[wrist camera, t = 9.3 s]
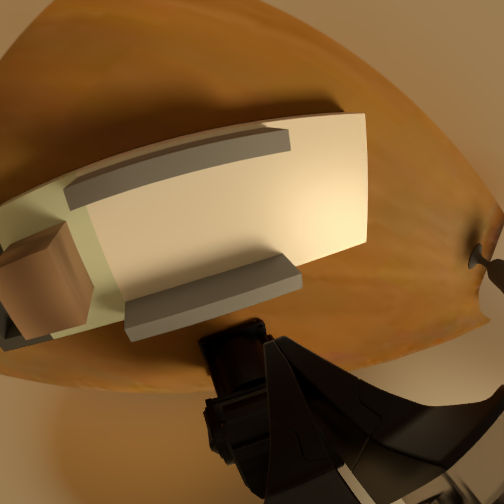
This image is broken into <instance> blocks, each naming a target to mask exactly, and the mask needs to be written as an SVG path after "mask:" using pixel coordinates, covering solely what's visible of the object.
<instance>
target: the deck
mask: <svg viewBox="0 0 504 504" xmlns="http://www.w3.org/2000/svg"><path fill="white" fill-rule="evenodd" d="M264 127H273V128H281V129H289V138H290V146H291V151H287V152H281V153H276V154H270V155H265V156H260V157H255V158H250V159H246V160H241V161H236V162H232V163H228V164H223V165H219V166H215V167H211V168H207V169H203V170H199V171H195V172H191V173H187V174H183V175H180V176H176V177H172V178H169V179H165V180H162V181H158V182H155V183H151V184H148V185H145V186H142V187H138V188H135V189H132V190H129V191H126V192H123V193H120V194H117V195H114V196H111V197H108V198H105V199H102V200H99V201H96V202H94V203H91V204H88V205H85V206H83V207H80V208H77V209H75V210H72V211H70V209H69V207H68V204H67V201H66V198H65V195H64V192H63V189H64V188H65V187H66V186H67V185H69V184H70V183H71V182H72V181H73V180H75V179H76V178H77V177H80V176H82V175H85V174H87V173H90V172H93V171H96V170H98V169H101V168H104V167H107V166H110V165H113V164H116V163H119V162H122V161H125V160H128V159H131V158H134V157H138V156H141V155H144V154H148V153H151V152H155V151H158V150H162V149H165V148H169V147H173V146H177V145H181V144H185V143H189V142H193V141H197V140H201V139H206V138H210V137H215V136H220V135H225V134H230V133H235V132H240V131H246V130H251V129H257V128H264ZM367 205H368V169H367V140H366V123H365V113H354V112H334V113H320V114H309V115H299V116H290V117H282V118H274V119H267V120H260V121H254V122H248V123H242V124H236V125H231V126H226V127H220V128H215V129H211V130H206V131H201V132H197V133H193V134H188V135H184V136H180V137H176V138H172V139H168V140H165V141H161V142H157V143H154V144H150V145H147V146H143V147H140V148H137V149H133V150H130V151H127V152H124V153H121V154H118V155H115V156H112V157H109V158H106V159H103V160H100V161H97V162H95V163H92V164H89V165H87V166H84V167H81V168H79V169H76V170H74V171H71V172H69V173H66V174H64V175H61V176H59V177H57V178H54V179H52V180H50V181H47V182H45V183H43V184H41V185H39V186H36V187H34V188H32V189H30V190H28V191H26V192H24V193H22V194H20V195H18V196H16V197H14V198H12V199H10V200H8V201H6V202H4V203H3V204H1V205H0V244H1V246H2V249H3V251H5V250H6V249H7V247H8V246H9V245H10V244H12V243H14V242H17V241H19V240H21V239H23V238H26V237H28V236H30V235H33V234H35V233H37V232H40V231H42V230H45V229H47V228H50V227H52V226H55V225H57V224H60V223H62V222H65V221H66V222H67V225H68V227H69V230H70V233H71V235H72V238H73V240H74V243H75V245H76V247H77V250H78V252H79V255H80V257H81V259H82V261H83V264H84V266H85V268H86V270H87V272H88V275H89V277H90V279H91V281H92V283H93V285H94V290H93V294H92V299H91V303H90V308H89V312H88V317H87V322H86V324H84V325H81V326H77V327H73V328H70V329H66V330H62V331H59V332H55V333H51V336H52V337H53V339H56V338H60V337H64V336H68V335H72V334H75V333H79V332H83V331H86V330H90V329H94V328H97V327H101V326H104V325H108V324H112V323H115V322H119V321H122V320H124V316H125V302H126V301H129V300H133V299H136V298H139V297H143V296H146V295H149V294H153V293H156V292H159V291H163V290H166V289H169V288H173V287H176V286H179V285H183V284H186V283H189V282H192V281H196V280H199V279H202V278H205V277H209V276H212V275H215V274H218V273H222V272H225V271H228V270H231V269H235V268H238V267H241V266H244V265H247V264H251V263H254V262H257V261H260V260H263V259H267V258H270V257H273V256H276V255H279V254H284V255H285V256H286V257H287V258H288V259H289V260H290V261H291V263H292V264H293V265H294V266H298V265H301V264H304V263H307V262H310V261H313V260H316V259H319V258H322V257H325V256H328V255H330V254H333V253H336V252H339V251H342V250H345V249H348V248H350V247H353V246H356V245H359V244H362V243H364V242H366V235H367Z"/></svg>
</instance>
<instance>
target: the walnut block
mask: <svg viewBox="0 0 504 504" xmlns="http://www.w3.org/2000/svg"><path fill="white" fill-rule="evenodd" d="M93 290H94V285H93V283H92V281H91V279H90V277H89V275H88V272H87V270H86V268H85V266H84V264H83V261H82V259H81V257H80V255H79V252H78V250H77V247H76V245H75V243H74V240H73V238H72V235H71V233H70V230H69V227H68V225H67V222H66V221H65V222H62V223H60V224H57V225H55V226H52V227H50V228H47V229H45V230H42V231H40V232H37V233H35V234H33V235H30V236H28V237H26V238H23V239H21V240H19V241H17V242H14V243H12V244H10V245H9V246H8V247H7V249H6V250H5V251H4V252H3V253H2V254H1V256H0V301H1V303H2V304H3V306H4V308H5V309H6V311H7V312H8V314H9V316H10V317H11V319H12V320H13V322H14V323H15V325H16V326H17V328H18V329H19V331H20V332H21V334H22V335H23V337H24V338H25V339H26V340H28V339H32V338H36V337H40V336H44V335H47V334H51V333H55V332H59V331H62V330H66V329H70V328H73V327H77V326H81V325H84V324H86V322H87V317H88V312H89V308H90V303H91V299H92V294H93Z"/></svg>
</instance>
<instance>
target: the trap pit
mask: <svg viewBox="0 0 504 504" xmlns="http://www.w3.org/2000/svg"><path fill="white" fill-rule="evenodd" d="M2 204H3V203H2ZM0 205H1V204H0ZM3 252H4V251H3V249H2V246H1V244H0V256H1V254H2V253H3ZM49 340H53V337H52V336H51V334H47V335H44V336H40V337H36V338H32V339H28V340H26V339H25V338H24V337H23V335H22V334H21V332H20V331H19V329H18V328H17V326H16V325H15V323H14V322H13V320H12V319H11V317H10V316H9V314H8V312H7V311H6V309H5V308H4V306H3V304H2V303H1V301H0V347H1V348H2V349H3V351H4V352H5V351H9V350H13V349H17V348H21V347H25V346H29V345H33V344H37V343H41V342H45V341H49Z"/></svg>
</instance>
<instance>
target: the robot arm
mask: <svg viewBox="0 0 504 504" xmlns="http://www.w3.org/2000/svg"><path fill="white" fill-rule="evenodd" d="M259 324H260V325H259ZM258 325H259V326H258ZM203 343H205V344H203ZM198 344H199V347H200V349H201V352H202V354H203V357H204V359H205V361H206V364H207V366H208V369H209V372H210V375H211V378H212V381H213V385H214V388H215V391H216V394H217V398H213V399H211V398H210V399H206V400H205V401H206V406H207V407H206V408H205V411H204V412H203V414H204V417H205V421H206V424H207V429H208V438H209V445H210V448H211V450H212V451H213V452H215V453H218V454H219V455H220V456H221V458H222V459H224V461H225V463H226V464H227V465H231V464H236V466H237V468H238V470H239V473H240V475H241V477H242V479H243V481H244V483H245V485H246V486H247V487H248V488H250V490H251V492H252V493H254V494H255V495H257V496H258V497H259V498H261V499H265V501H264V504H361V503H360V501H359V500H358V499H357V497H356V496H355V495H354V493H353V492H352V491H351V489H350V488H349V486H348V485H347V483H346V482H345V480H344V479H343V477H342V476H341V475H340V473H339V472H338V470H337V469H338V468H340V467H342V466H343V465H344V462H345V464H346V465H347V466H348V468H349V469H350V470H351V471H352V473H353V474H354V476H355V477H356V478H357V480H358V481H359V482H360V484H361V485H362V486H363V488H364V489H365V490H366V492H367V493H368V494H369V495H370V497H371V498H372V499H373V501H374V502H375V503H376V504H390V503H393V502H394V501H396V500H398V499H400V498H402V499H403V501H404V502H405V504H504V385H501V386H500V387H499V388H498V389H497V390H496V392H495V393H494V394H493V395H492V396H491V397H490V398H488V399H487V400H484V401H481V402H476V403H468V404H460V405H450V406H426V405H422V404H418V403H416V402H413V401H410V400H407V399H404V398H402V397H399V396H396V395H393V394H391V393H388V392H386V391H383V390H381V389H379V388H377V387H375V386H373V385H371V384H368V383H367V382H365V381H363V380H361V379H359V380H358V378H357V377H356V376H354V375H352V374H350V373H348V372H347V371H345V370H343V369H341V368H339V367H338V366H336V365H334V364H332V363H331V362H329V361H327V360H325V359H324V358H322V357H320V356H319V355H317V354H315V353H313V352H312V351H310V350H308V349H307V348H305V347H303V346H302V345H300V344H298V343H296V342H295V341H293V340H291V339H290V338H288V337H287V336H281V337H279V338H276V339H274V338H273V336H272V335H270V334H269V335H267V334H266V328H265V324H264V322H263V320H256V321H253V322H250V323H248V324H245V325H242V326H239V327H236V328H233V329H230V330H227V331H224V332H221V333H217V334H214V335H211V336H208V337H205V338H202V339H200V340H199V341H198Z"/></svg>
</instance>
